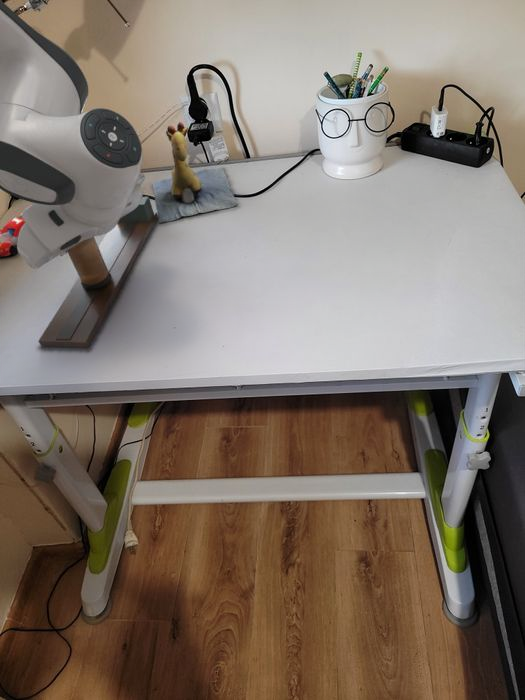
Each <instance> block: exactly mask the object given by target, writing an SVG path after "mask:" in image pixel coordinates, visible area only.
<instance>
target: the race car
mask: <svg viewBox="0 0 525 700" xmlns="http://www.w3.org/2000/svg"><path fill="white" fill-rule="evenodd" d="M24 224H25V221H24V219H23V218H22V213H21V214H19V215H17V216H15V217H14V218H12V219H11V220H9V221H8V222H7V223H6V224H5V225H4V226H3V227H2V229H0V257H7V256H11V255H13V256H15V255H17V254H18V253H19V252H18V250H17V241H18V236H19V232H20V229H21V228H22V226H23V225H24Z"/></svg>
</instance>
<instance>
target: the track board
mask: <svg viewBox="0 0 525 700" xmlns="http://www.w3.org/2000/svg"><path fill="white" fill-rule="evenodd" d="M153 212H154V211H153ZM158 220H159V218H158V213H157V211H155V212H154V215H153V217H152V218H151V220H150V222H118V223H117V225H116V226H115V227H114V228H113V229H112V230H111V231H110V232H108V233H106V234H105V236H104V237H103V239H102V241H101V242H100V243H99V245H98V248H99V250H100V252H101V255H102V257H103V260H104V262H105V264H106V267H107V269H109V271H110V273H111V280H110V282H109V283H108V284H107V285H105V286H104V287H102V288H99V289H95V290H88V289H85V288H83V287H82V285H81V283H80V278H79V277H78V278H77V279H76V281H75V283H74V284H73V285H72V287H71V289H70V291H69V293H68V294H67V296H66V297H65V298H64V300H63V301H62V303H61V305H60V306H59V308H58V310H57V311H56V313H55V314H54V315H53V317H52V319H51V320H50V322H49V323H48V325H47V327H46V328H45V330H44V332H43V333H42V335H41V336H40V338H39V339H38V340H37V341H38V343H39V345H40V346H41V347H42V348H45V347H47V348H75V349H76V348H78V349H79V348H80V349H89V347H90V345H91V344H92V342H93V339H94V338H95V336H96V334H97V332H98V331H99V329H100V327H101V325H102V323H103V321H104V319H105V317H106V315H107V314H108V312H109V310H110V308H111V307H112V305H113V302H114V300H115V299H116V297H117V295H118V293H119V291H120V290H121V288H122V285H123V284H124V282H125V280H126V278H127V276H128V274H129V273H130V271H131V269H132V267H133V266H134V263H135V261H136V260H137V258H138V256H139V254H140V252H141V250H142V248H143V247H144V245H145V243H146V241H147V239H148V237H149V235H150V233H151V232H152V230H153V228H154V226H155V224H156V223H157V221H158Z"/></svg>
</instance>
